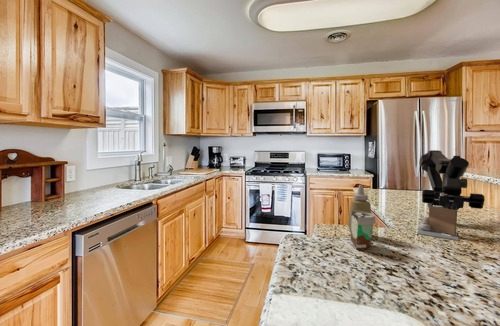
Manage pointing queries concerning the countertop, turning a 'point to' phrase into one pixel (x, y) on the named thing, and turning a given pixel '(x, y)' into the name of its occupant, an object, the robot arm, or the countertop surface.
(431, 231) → the slate base
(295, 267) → the countertop surface
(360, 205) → the squeeze bottle
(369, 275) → the countertop surface
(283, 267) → the countertop surface
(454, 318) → the countertop surface
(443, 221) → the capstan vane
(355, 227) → the food container
